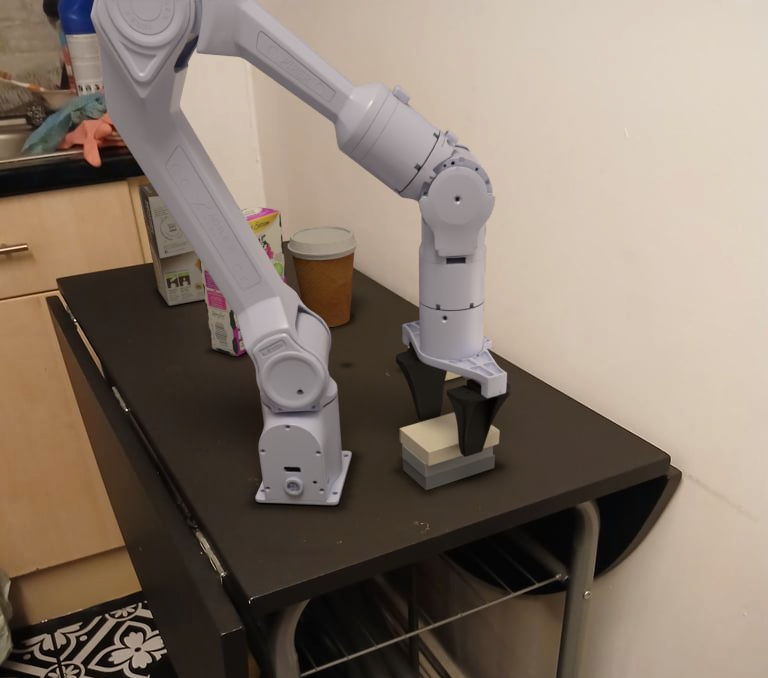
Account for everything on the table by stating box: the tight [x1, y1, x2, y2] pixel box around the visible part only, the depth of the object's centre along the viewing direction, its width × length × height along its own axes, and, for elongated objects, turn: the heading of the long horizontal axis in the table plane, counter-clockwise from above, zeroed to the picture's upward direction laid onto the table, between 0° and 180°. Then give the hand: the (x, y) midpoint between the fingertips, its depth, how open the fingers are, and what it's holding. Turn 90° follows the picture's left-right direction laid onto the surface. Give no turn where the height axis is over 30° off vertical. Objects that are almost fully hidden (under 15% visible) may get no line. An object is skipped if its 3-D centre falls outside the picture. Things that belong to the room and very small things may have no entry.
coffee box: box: [137, 182, 205, 307], centre depth 120 cm, size 9×6×16 cm
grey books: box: [401, 444, 496, 491], centre depth 78 cm, size 8×4×3 cm, turn 119°
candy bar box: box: [199, 206, 287, 357], centre depth 104 cm, size 11×5×16 cm, turn 146°
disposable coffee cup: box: [287, 225, 358, 328], centre depth 110 cm, size 10×10×12 cm
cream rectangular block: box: [398, 412, 500, 466], centre depth 77 cm, size 8×6×2 cm
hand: (449, 435), depth 77 cm, fingers open, 7 cm apart
